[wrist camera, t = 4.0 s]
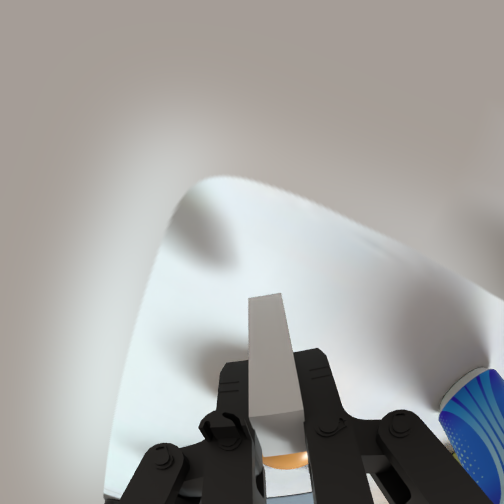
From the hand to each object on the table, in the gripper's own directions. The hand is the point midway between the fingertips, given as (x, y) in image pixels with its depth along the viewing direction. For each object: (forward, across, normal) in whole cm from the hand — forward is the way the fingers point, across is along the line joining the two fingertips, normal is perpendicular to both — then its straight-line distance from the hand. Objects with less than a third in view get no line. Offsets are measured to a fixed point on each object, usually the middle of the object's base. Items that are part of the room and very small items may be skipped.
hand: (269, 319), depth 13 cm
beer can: (+3, -20, +18) cm, 27 cm away
